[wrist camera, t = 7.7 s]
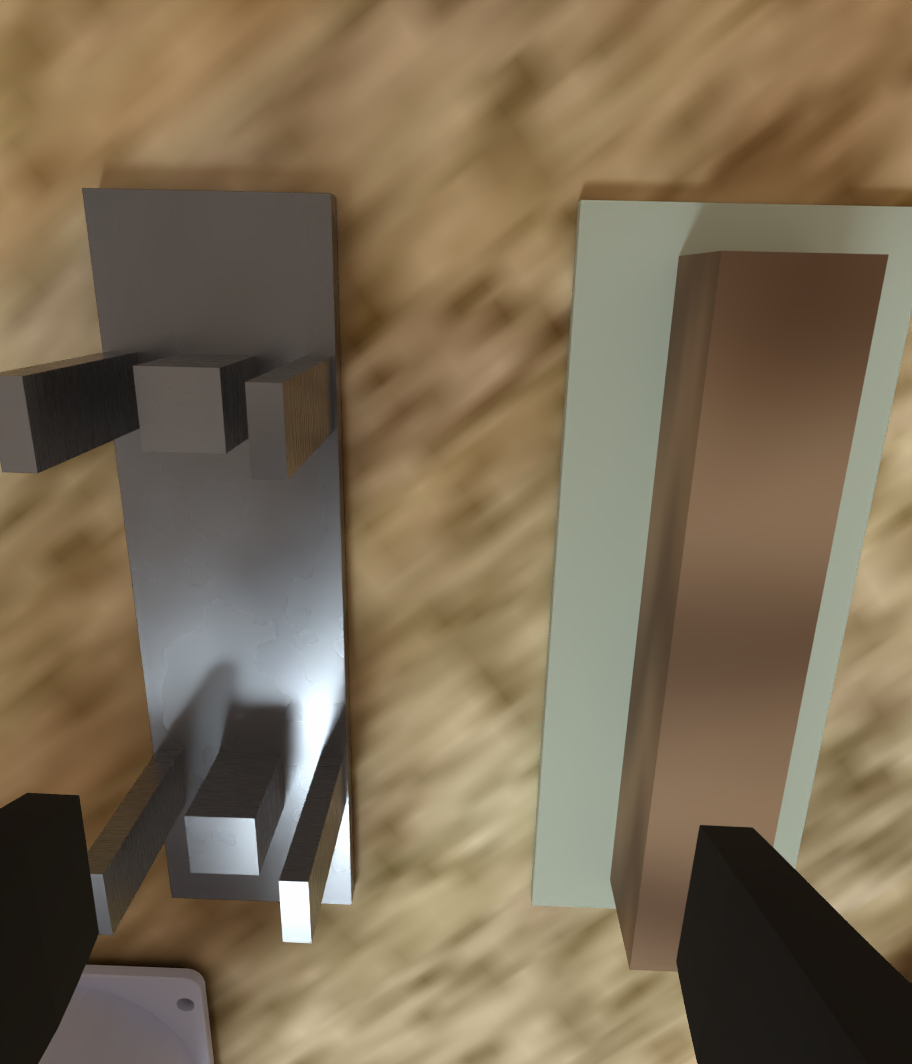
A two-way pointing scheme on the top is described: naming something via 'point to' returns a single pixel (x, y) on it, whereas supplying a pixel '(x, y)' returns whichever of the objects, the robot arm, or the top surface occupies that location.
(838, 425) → the rail
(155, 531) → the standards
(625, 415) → the mat
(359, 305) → the top surface
